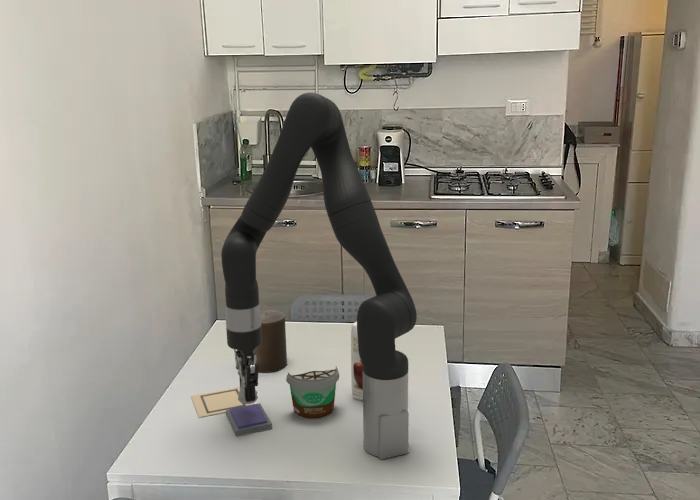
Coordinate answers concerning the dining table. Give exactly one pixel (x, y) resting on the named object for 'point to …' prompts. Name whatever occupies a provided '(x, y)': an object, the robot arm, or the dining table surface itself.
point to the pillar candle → (272, 342)
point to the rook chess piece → (242, 393)
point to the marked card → (217, 402)
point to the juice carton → (356, 365)
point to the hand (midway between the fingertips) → (247, 395)
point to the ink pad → (248, 419)
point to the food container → (313, 393)
